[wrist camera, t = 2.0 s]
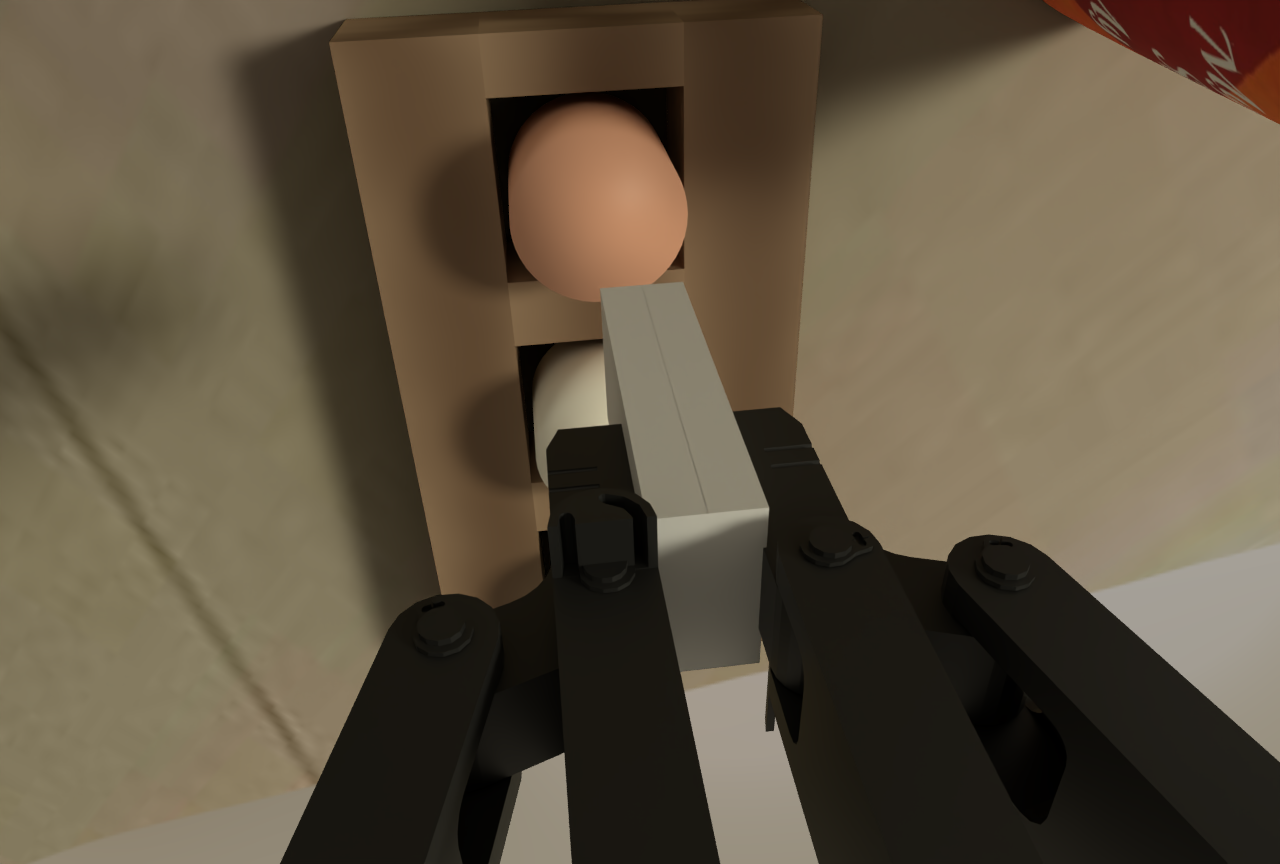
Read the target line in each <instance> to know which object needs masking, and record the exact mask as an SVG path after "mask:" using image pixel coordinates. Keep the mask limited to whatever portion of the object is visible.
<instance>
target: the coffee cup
mask: <svg viewBox="0 0 1280 864" xmlns="http://www.w3.org/2000/svg"><path fill="white" fill-rule="evenodd" d="M1043 1H1044V2H1045V3H1047V4H1048V5H1050V6H1051V7H1053V8H1054V9H1056V10H1057V11H1059V12H1060V13H1062V14H1064V15H1066V16H1067V17H1069V18H1071V19H1073V20H1075V21H1076V22H1078V23H1080V24H1082V25H1084V26H1085V27H1087V28H1089V29H1091V30H1093V31H1095V32H1097V33H1099V34H1101V35H1103V36H1105V37H1107V38H1109V39H1111V40H1113V41H1114V42H1116V43H1118V44H1120V45H1122V46H1124V47H1126V48H1128V49H1130V50H1132V51H1134V52H1136V53H1138V54H1140V55H1142V56H1144V57H1146V58H1148V59H1150V60H1152V61H1154V62H1156V63H1158V64H1160V65H1162V66H1164V67H1166V68H1168V69H1170V70H1172V71H1174V72H1176V73H1178V74H1180V75H1182V76H1184V77H1186V78H1188V79H1190V80H1192V81H1194V82H1196V83H1198V84H1200V85H1202V86H1204V87H1206V88H1208V89H1210V90H1212V91H1214V92H1216V93H1218V94H1220V95H1222V96H1224V97H1226V98H1228V99H1230V100H1232V101H1234V102H1236V103H1238V104H1240V105H1242V106H1244V107H1246V108H1248V109H1250V110H1252V111H1254V112H1256V113H1258V114H1260V115H1262V116H1264V117H1266V118H1268V119H1270V120H1272V121H1274V122H1276V123H1278V124H1280V0H1043Z"/></svg>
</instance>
